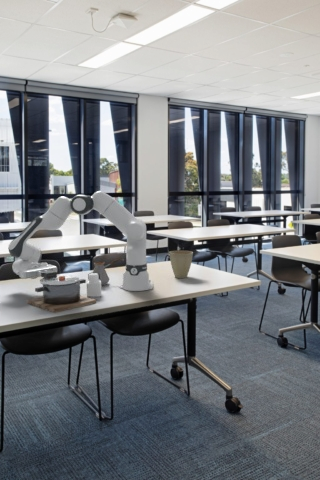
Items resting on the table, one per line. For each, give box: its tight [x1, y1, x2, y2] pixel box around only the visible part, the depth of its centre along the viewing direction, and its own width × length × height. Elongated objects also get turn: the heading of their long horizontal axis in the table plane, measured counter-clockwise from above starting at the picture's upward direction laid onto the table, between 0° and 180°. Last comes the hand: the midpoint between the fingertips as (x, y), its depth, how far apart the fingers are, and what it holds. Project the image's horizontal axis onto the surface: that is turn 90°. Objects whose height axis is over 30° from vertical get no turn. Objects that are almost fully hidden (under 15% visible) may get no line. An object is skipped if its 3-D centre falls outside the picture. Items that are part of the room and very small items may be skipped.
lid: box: [39, 271, 80, 286], centre depth 228 cm, size 22×19×3 cm
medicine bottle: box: [86, 271, 102, 298], centre depth 243 cm, size 7×7×12 cm
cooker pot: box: [34, 278, 87, 305], centre depth 227 cm, size 18×28×9 cm, turn 136°
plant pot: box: [168, 250, 194, 279], centre depth 288 cm, size 15×15×16 cm
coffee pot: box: [92, 256, 124, 287], centre depth 270 cm, size 21×12×15 cm, turn 120°
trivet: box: [27, 294, 97, 314], centre depth 228 cm, size 24×24×2 cm
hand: (46, 274), depth 236 cm, fingers closed
